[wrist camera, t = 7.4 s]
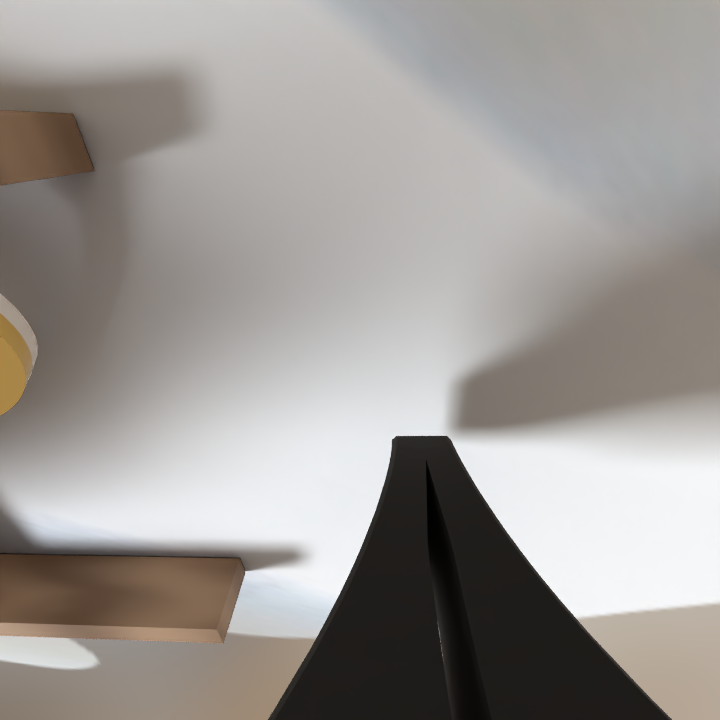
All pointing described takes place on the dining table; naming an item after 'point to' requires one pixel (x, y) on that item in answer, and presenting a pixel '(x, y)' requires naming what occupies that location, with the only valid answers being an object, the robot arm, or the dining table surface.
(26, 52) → the dining table surface
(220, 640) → the brown u-shaped frame
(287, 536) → the dining table surface
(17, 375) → the ring
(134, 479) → the dining table surface
